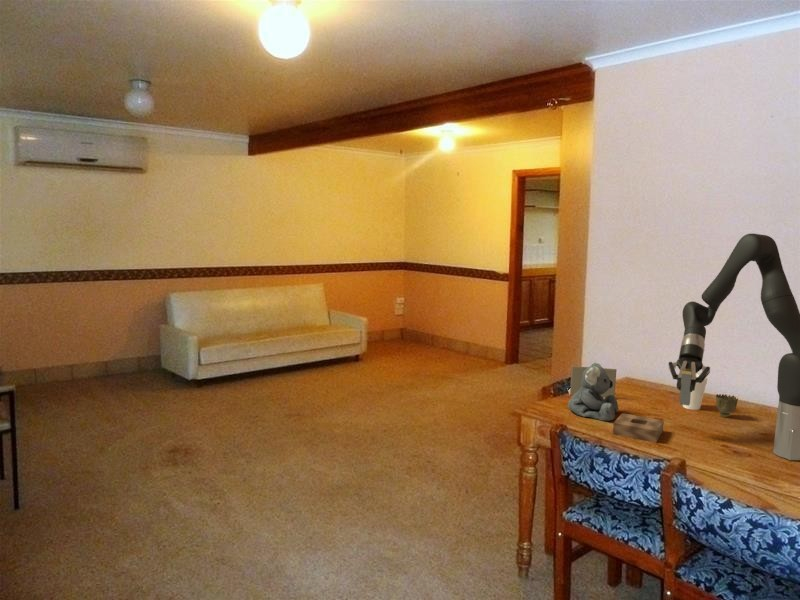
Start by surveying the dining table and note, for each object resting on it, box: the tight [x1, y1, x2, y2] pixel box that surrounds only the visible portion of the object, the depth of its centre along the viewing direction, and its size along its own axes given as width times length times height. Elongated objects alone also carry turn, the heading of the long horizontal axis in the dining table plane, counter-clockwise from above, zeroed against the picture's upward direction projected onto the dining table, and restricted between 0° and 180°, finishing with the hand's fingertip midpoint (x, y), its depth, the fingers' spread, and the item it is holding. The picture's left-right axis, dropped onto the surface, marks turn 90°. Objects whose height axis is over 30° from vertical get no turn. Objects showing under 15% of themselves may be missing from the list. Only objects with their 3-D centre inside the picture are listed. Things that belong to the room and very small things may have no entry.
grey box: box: [567, 365, 617, 397], centre depth 264 cm, size 18×12×13 cm
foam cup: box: [682, 373, 708, 411], centre depth 247 cm, size 10×9×13 cm
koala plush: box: [567, 361, 619, 422], centre depth 234 cm, size 17×18×20 cm
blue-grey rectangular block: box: [679, 368, 692, 406], centre depth 211 cm, size 3×3×12 cm
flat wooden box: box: [612, 412, 665, 443], centre depth 214 cm, size 14×14×4 cm
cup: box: [715, 393, 739, 418], centre depth 237 cm, size 8×7×8 cm
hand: (685, 389), depth 210 cm, fingers closed on blue-grey rectangular block, 3 cm apart
